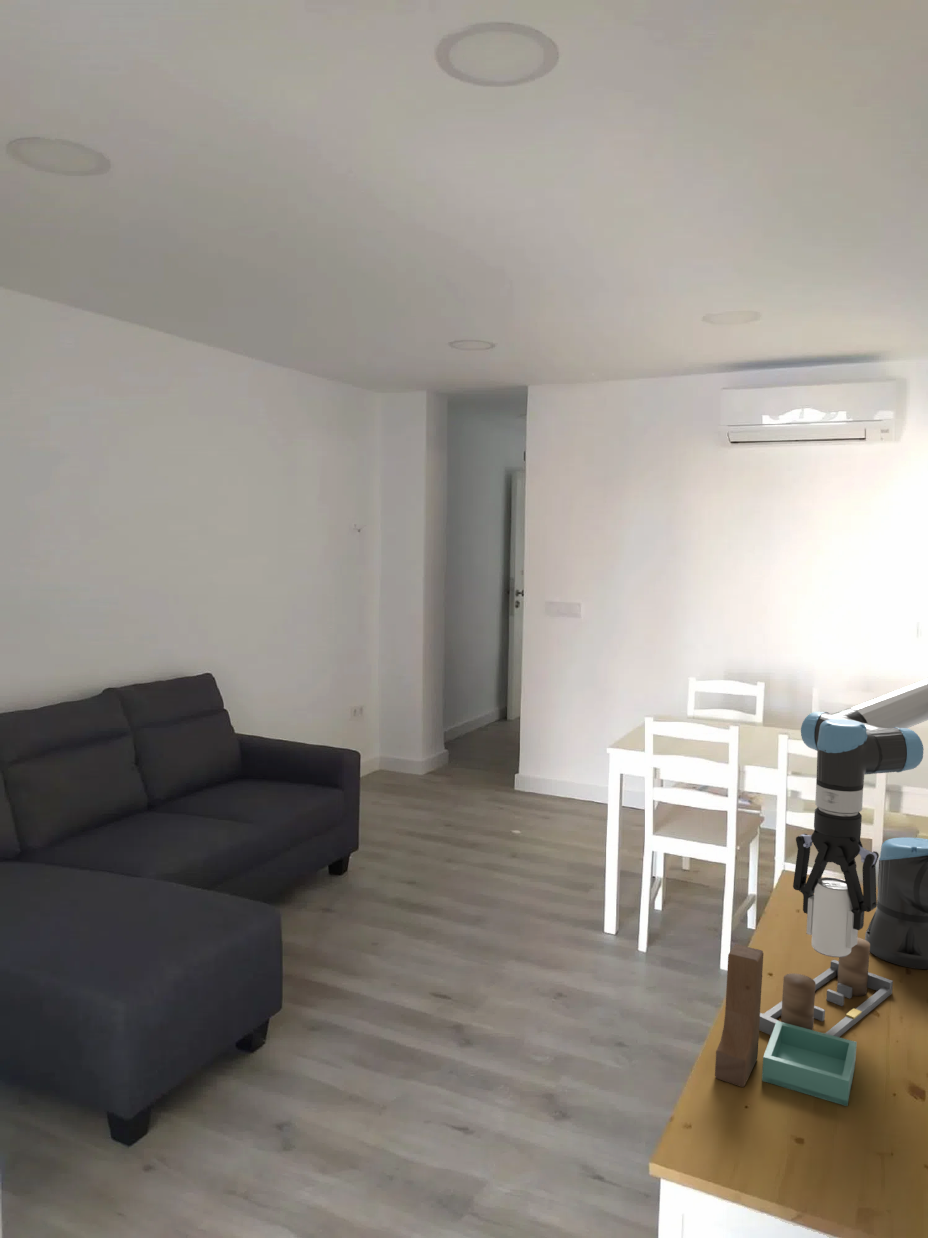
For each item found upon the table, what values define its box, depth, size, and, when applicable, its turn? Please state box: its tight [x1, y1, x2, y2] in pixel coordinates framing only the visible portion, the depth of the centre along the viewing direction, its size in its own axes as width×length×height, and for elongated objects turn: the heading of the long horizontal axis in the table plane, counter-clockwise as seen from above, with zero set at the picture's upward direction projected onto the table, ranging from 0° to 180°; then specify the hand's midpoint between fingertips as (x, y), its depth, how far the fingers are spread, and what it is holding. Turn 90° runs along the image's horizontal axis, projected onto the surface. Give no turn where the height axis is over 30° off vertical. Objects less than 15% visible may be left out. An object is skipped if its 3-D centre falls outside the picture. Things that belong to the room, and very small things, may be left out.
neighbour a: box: [836, 937, 871, 997], centre depth 164 cm, size 5×5×9 cm
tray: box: [761, 1020, 858, 1107], centre depth 138 cm, size 12×12×4 cm
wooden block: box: [714, 944, 764, 1088], centre depth 138 cm, size 9×4×18 cm, turn 149°
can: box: [811, 876, 852, 958], centre depth 155 cm, size 6×6×12 cm
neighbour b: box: [780, 973, 816, 1030], centre depth 149 cm, size 5×5×9 cm
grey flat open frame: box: [759, 959, 894, 1038], centre depth 157 cm, size 30×11×2 cm, turn 133°
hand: (831, 938), depth 156 cm, fingers closed on can, 6 cm apart
